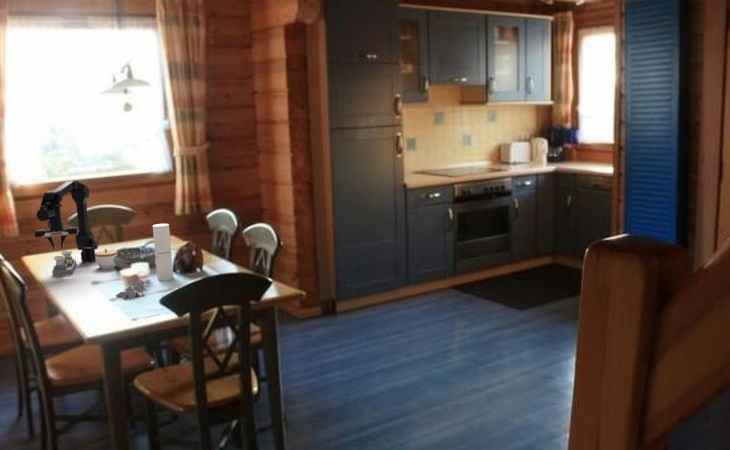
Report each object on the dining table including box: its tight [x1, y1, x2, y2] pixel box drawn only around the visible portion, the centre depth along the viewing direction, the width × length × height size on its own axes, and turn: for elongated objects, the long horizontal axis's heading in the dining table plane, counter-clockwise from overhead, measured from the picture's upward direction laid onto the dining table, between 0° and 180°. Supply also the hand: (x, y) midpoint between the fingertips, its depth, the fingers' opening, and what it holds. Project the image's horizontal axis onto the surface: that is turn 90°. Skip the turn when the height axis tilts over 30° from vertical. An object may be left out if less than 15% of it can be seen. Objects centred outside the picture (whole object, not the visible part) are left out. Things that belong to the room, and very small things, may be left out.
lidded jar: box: [95, 248, 119, 270], centre depth 351 cm, size 11×11×9 cm
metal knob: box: [66, 256, 73, 266], centre depth 347 cm, size 3×3×4 cm
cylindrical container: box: [152, 223, 174, 281], centre depth 323 cm, size 7×7×25 cm
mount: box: [51, 258, 77, 277], centre depth 348 cm, size 9×21×4 cm, turn 17°
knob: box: [53, 254, 65, 267], centre depth 341 cm, size 5×5×6 cm
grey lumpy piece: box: [115, 274, 149, 300], centre depth 301 cm, size 20×10×9 cm
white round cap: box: [61, 249, 73, 261], centre depth 352 cm, size 5×5×6 cm
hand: (58, 249), depth 340 cm, fingers open, 3 cm apart
